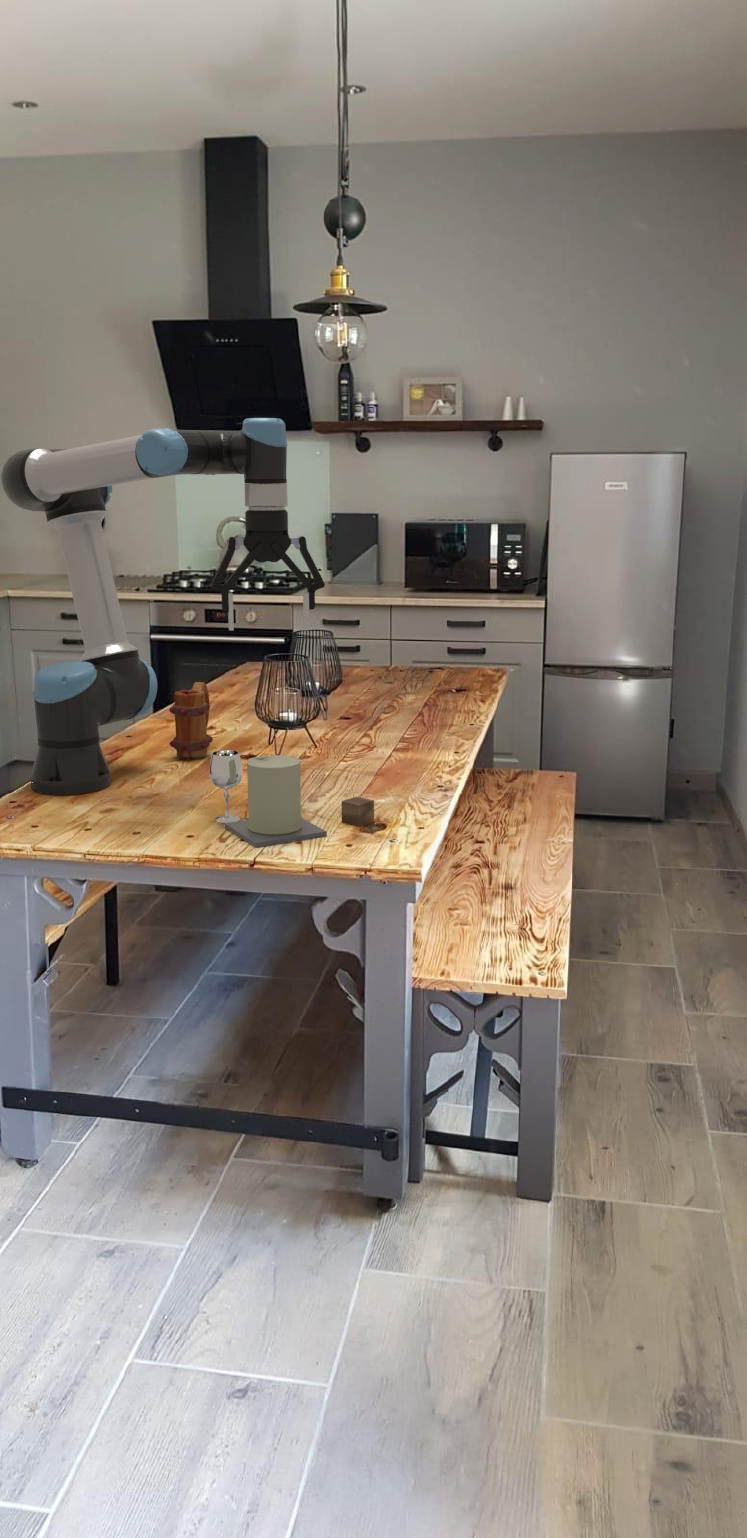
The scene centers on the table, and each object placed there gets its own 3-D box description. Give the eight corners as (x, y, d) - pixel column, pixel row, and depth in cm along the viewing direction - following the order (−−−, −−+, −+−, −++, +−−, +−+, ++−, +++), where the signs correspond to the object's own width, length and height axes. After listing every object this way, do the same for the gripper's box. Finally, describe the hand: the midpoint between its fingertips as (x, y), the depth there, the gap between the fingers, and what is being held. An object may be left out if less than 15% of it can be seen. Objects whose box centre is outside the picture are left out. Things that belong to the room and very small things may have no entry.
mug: (202, 762, 256) (200, 692, 253) (165, 761, 258) (162, 690, 254) (224, 747, 270) (222, 680, 267) (189, 746, 272) (187, 679, 268)
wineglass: (245, 814, 218) (243, 749, 215) (242, 823, 213) (240, 756, 210) (212, 815, 218) (210, 749, 215) (209, 824, 212) (207, 757, 209)
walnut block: (358, 827, 211) (358, 805, 210) (341, 823, 213) (341, 801, 212) (374, 822, 214) (374, 800, 213) (356, 818, 216) (356, 796, 215)
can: (274, 816, 214) (272, 749, 211) (313, 826, 208) (312, 757, 205) (236, 828, 207) (234, 759, 204) (275, 838, 201) (274, 767, 199)
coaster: (255, 847, 199) (255, 842, 199) (224, 827, 210) (224, 823, 210) (326, 835, 206) (326, 831, 205) (292, 817, 216) (292, 812, 216)
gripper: (333, 507, 222) (334, 624, 227) (194, 508, 218) (198, 627, 223) (339, 509, 215) (340, 629, 220) (195, 510, 211) (200, 633, 216)
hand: (269, 628), depth 221 cm, fingers open, 13 cm apart
